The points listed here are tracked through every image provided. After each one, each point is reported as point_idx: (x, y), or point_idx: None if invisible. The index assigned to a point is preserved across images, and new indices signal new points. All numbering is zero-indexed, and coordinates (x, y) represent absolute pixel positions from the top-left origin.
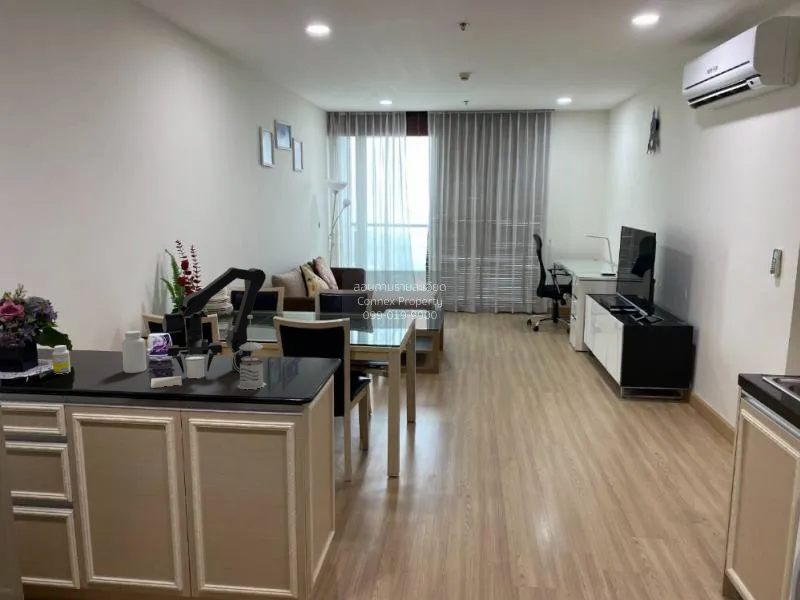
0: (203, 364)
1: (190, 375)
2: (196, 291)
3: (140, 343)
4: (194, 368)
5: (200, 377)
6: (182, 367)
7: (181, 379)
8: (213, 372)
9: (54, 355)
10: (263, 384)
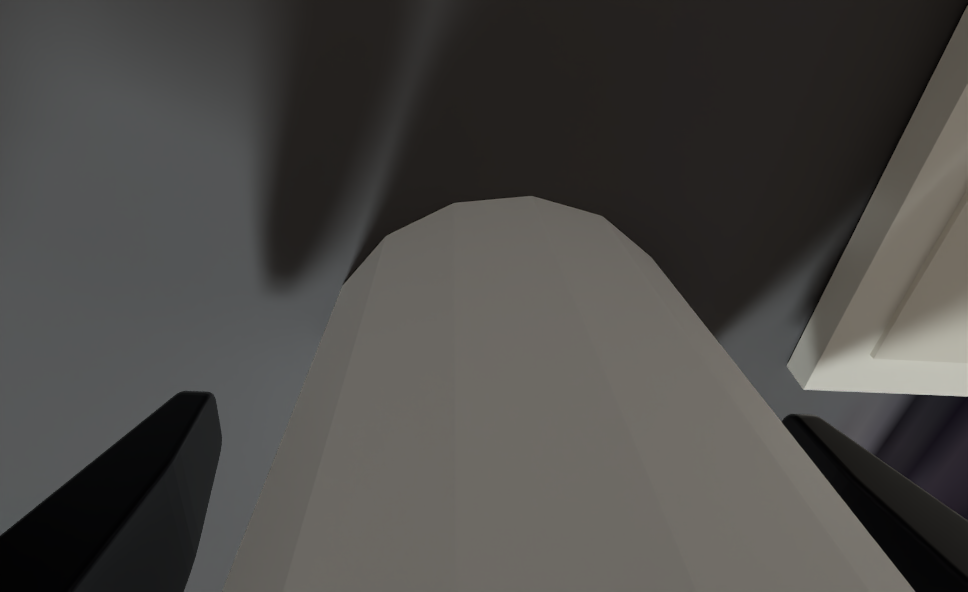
0: (251, 548)
1: (670, 285)
2: None
3: None
4: (638, 361)
5: (417, 227)
6: (941, 534)
7: (952, 113)
8: None
9: None
10: None
